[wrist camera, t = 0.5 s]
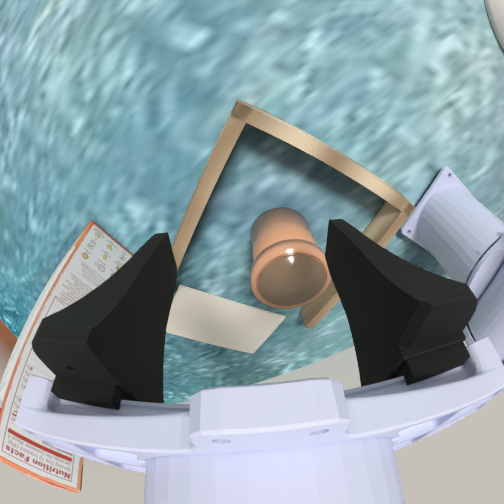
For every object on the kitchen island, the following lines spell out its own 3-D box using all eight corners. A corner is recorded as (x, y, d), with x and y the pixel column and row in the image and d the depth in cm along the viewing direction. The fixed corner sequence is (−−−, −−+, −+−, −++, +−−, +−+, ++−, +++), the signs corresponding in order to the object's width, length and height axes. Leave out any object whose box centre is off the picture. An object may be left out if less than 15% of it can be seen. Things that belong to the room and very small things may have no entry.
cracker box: (81, 316, 29) (36, 473, 12) (43, 287, 26) (-19, 443, 9) (142, 258, 24) (85, 499, 8) (93, 216, 21) (-18, 454, 4)
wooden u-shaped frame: (401, 193, 22) (415, 207, 20) (307, 311, 30) (312, 329, 28) (237, 98, 17) (238, 102, 15) (164, 266, 25) (159, 285, 23)
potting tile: (285, 315, 30) (285, 317, 30) (253, 352, 34) (253, 353, 34) (179, 284, 26) (179, 285, 26) (161, 329, 30) (161, 330, 30)
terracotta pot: (323, 220, 23) (347, 266, 18) (290, 266, 26) (303, 317, 21) (266, 193, 21) (277, 237, 16) (236, 247, 24) (237, 298, 19)
